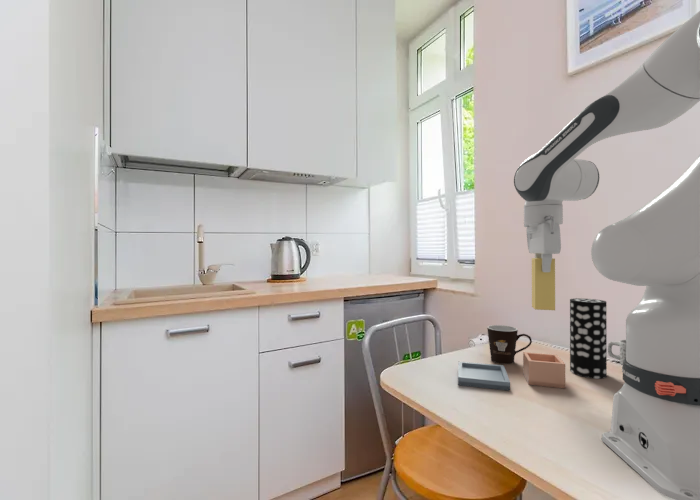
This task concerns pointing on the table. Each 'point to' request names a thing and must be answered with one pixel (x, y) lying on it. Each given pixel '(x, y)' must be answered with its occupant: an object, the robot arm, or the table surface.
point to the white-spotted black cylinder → (588, 338)
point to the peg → (543, 286)
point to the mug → (622, 350)
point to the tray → (483, 375)
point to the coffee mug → (504, 343)
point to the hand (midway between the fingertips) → (543, 271)
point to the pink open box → (544, 370)
